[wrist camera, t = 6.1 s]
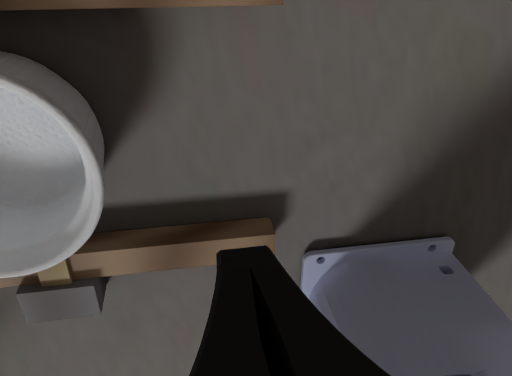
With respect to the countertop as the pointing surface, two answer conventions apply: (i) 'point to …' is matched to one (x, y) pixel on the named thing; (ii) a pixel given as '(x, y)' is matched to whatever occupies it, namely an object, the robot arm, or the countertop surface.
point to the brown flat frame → (128, 241)
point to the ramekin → (45, 168)
